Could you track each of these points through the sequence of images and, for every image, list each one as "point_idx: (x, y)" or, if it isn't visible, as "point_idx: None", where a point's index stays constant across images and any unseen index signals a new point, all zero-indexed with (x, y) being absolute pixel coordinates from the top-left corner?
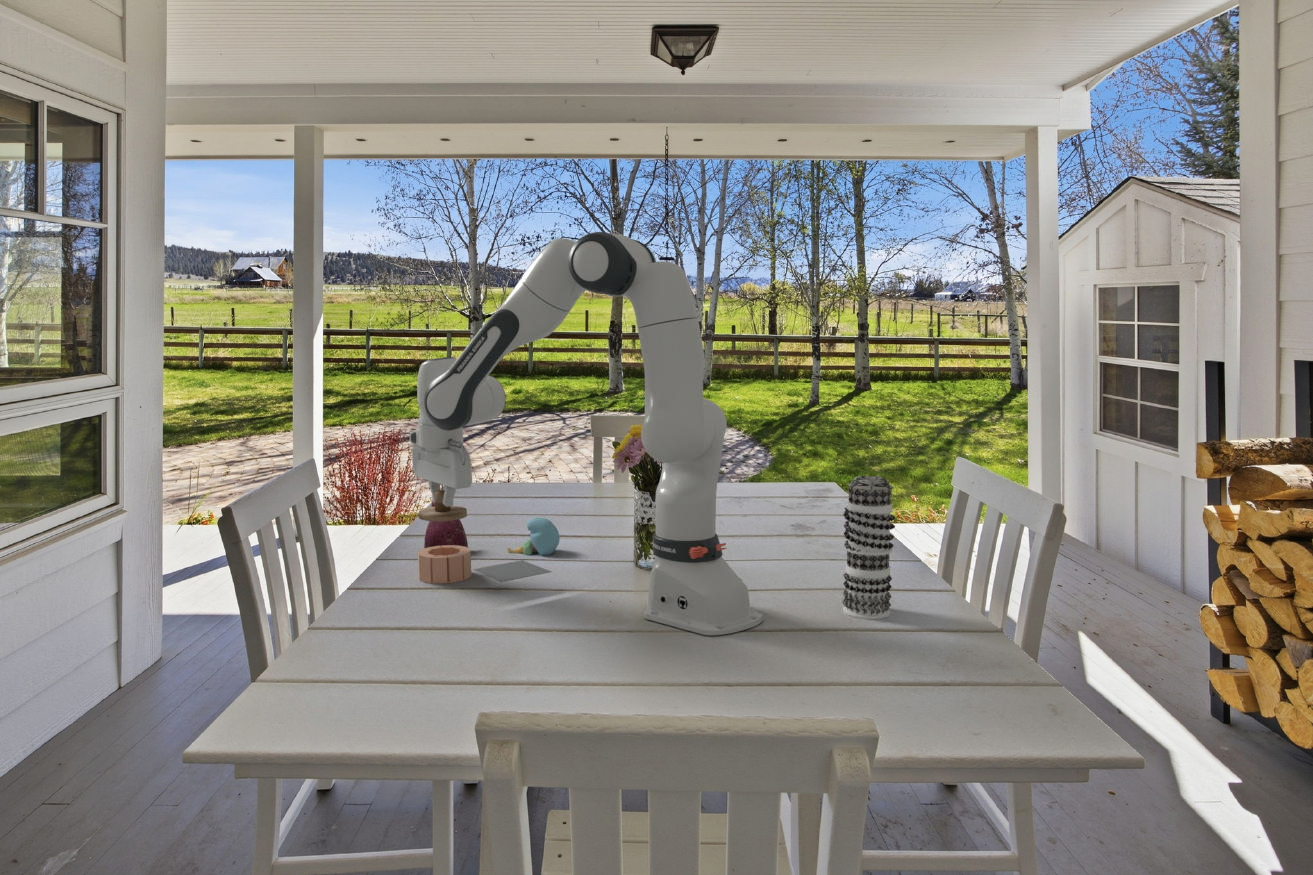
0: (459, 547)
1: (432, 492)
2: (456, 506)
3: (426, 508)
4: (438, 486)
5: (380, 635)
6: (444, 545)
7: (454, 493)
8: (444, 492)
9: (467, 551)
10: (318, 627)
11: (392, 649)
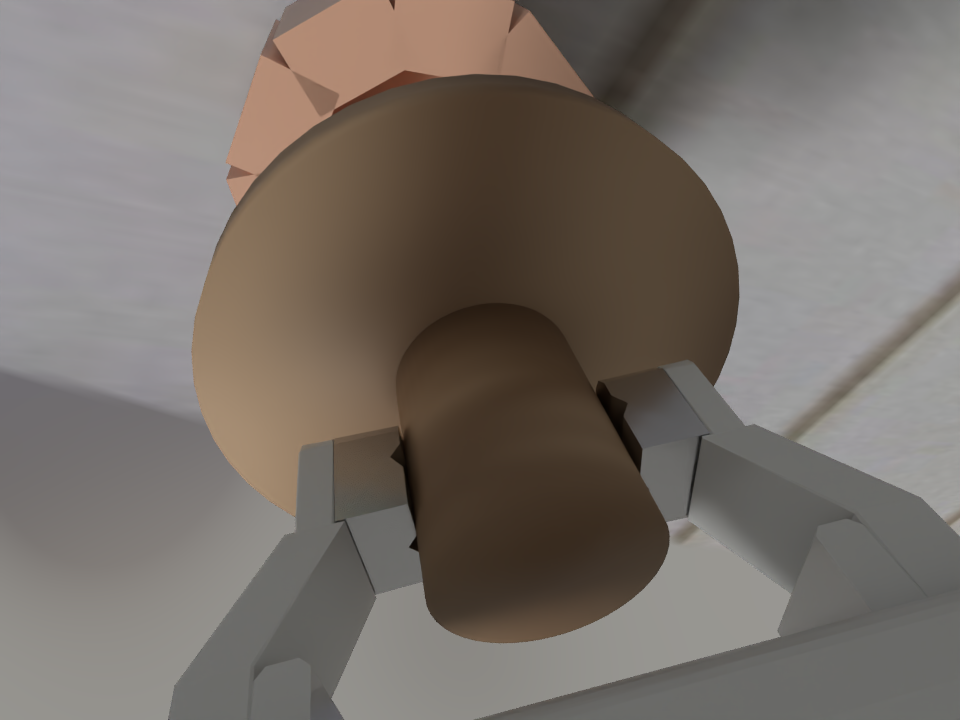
0: (358, 50)
1: (354, 624)
2: (298, 181)
3: (291, 493)
4: (282, 650)
5: (843, 434)
6: (237, 144)
7: (829, 462)
8: (653, 557)
9: (519, 35)
10: (677, 535)
11: (944, 420)
